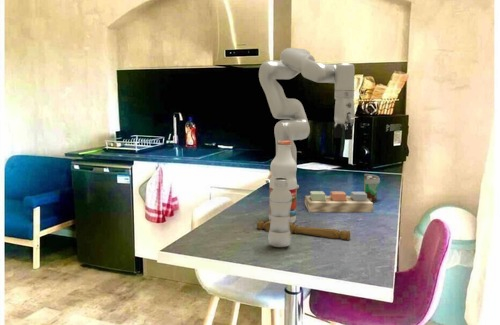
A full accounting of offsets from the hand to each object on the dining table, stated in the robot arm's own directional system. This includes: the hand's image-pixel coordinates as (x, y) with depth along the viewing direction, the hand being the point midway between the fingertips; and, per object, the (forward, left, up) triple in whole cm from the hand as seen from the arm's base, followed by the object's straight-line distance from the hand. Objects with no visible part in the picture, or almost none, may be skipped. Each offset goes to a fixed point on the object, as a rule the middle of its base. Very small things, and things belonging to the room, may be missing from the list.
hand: (343, 138), depth 181 cm
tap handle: (-21, -41, -27) cm, 54 cm away
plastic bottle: (-29, -53, -26) cm, 66 cm away
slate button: (+5, -9, -24) cm, 26 cm away
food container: (+14, +4, -26) cm, 30 cm away
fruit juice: (-26, -27, -26) cm, 46 cm away
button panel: (-3, -9, -26) cm, 28 cm away
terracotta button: (-3, -9, -24) cm, 26 cm away
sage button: (-11, -9, -24) cm, 28 cm away
